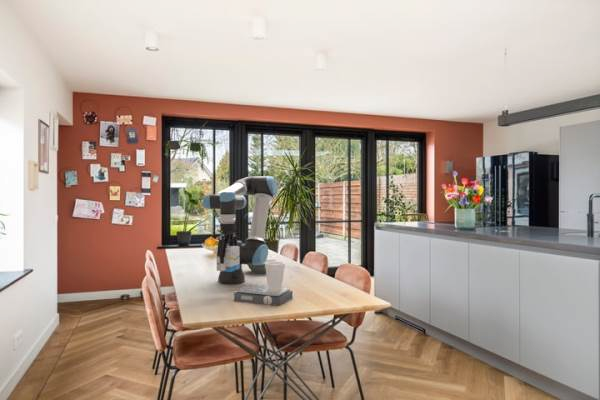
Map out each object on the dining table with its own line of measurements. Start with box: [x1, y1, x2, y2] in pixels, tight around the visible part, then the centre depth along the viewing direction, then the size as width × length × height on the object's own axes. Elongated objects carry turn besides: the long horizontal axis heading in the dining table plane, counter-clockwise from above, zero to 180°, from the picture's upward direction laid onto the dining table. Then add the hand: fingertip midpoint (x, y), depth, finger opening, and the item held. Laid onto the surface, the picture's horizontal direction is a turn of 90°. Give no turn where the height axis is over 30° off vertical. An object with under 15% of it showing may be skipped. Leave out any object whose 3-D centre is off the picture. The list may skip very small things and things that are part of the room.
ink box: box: [215, 245, 240, 272], centre depth 207 cm, size 8×8×12 cm
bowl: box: [246, 255, 276, 275], centre depth 269 cm, size 20×20×10 cm
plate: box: [236, 283, 291, 296], centre depth 201 cm, size 22×13×1 cm, turn 68°
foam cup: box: [265, 260, 286, 292], centre depth 199 cm, size 10×9×13 cm
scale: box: [233, 290, 294, 307], centre depth 201 cm, size 24×15×4 cm, turn 68°
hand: (228, 268), depth 207 cm, fingers closed on ink box, 9 cm apart
